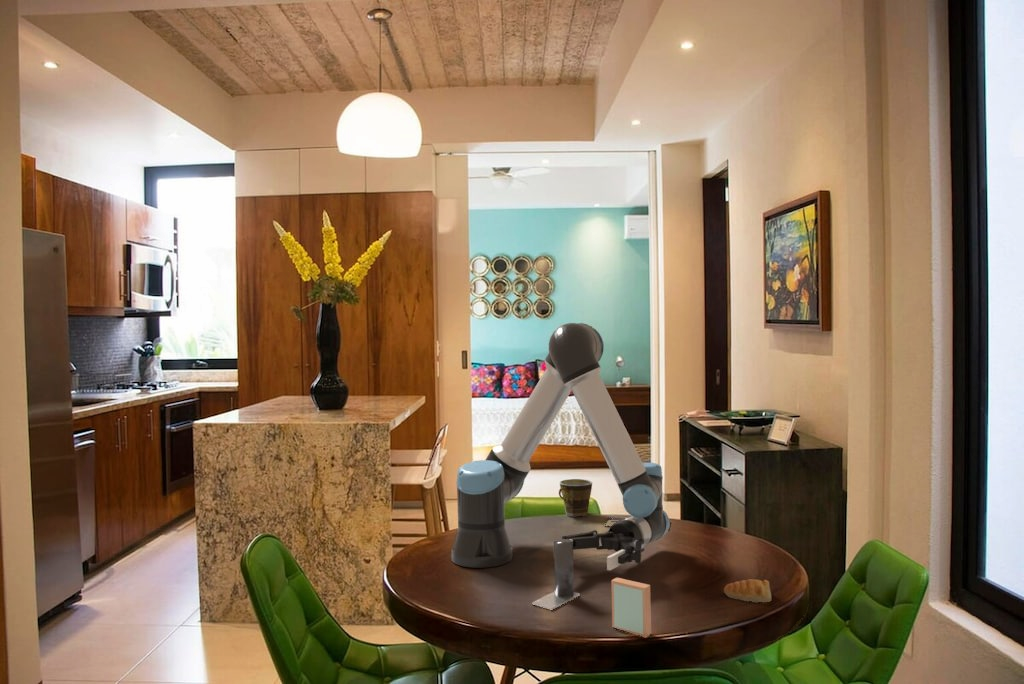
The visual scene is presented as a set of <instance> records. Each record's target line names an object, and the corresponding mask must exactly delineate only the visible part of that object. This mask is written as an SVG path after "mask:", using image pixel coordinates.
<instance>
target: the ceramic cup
mask: <svg viewBox="0 0 1024 684" xmlns="http://www.w3.org/2000/svg"><path fill="white" fill-rule="evenodd" d="M559 487H560V488H559V490H558V496H559V498H561V499H562V500H563V506H564V511H565V514H566V516H567V517H570V516H575V517H574V518H577V517H576V516H583V517H585V516H588V514H589V506H590V501H591V500H590V498H591V495H592V490H593V488H592V487H593V482H592V481H591V480H589V479H583V478H582V479H581V478H572V479H564V480H561V481H560V482H559Z"/></svg>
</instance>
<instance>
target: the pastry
mask: <svg viewBox="0 0 1024 684" xmlns="http://www.w3.org/2000/svg"><path fill="white" fill-rule="evenodd" d="M723 593H724V594H725V595H726V596H727V597H728V598H730V599H732V598H733V600H738V599H739V600H740V601H742V600H743V601H742V602H746V601H747V602H749V601H752V602H751V603H758V602H763V603H762V604H765V603H764V602H770V601H771V602H772V592H771V587H770V581H769V580H767V579H764V580H760V579H754V578H751V579H750V578H748V579H746V580H745V579H743V580H742V579H741V580H739V581H735V582H730V583H727V584H726V585H725V586H724V588H723ZM739 600H738V601H739ZM771 602H770V603H771Z"/></svg>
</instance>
